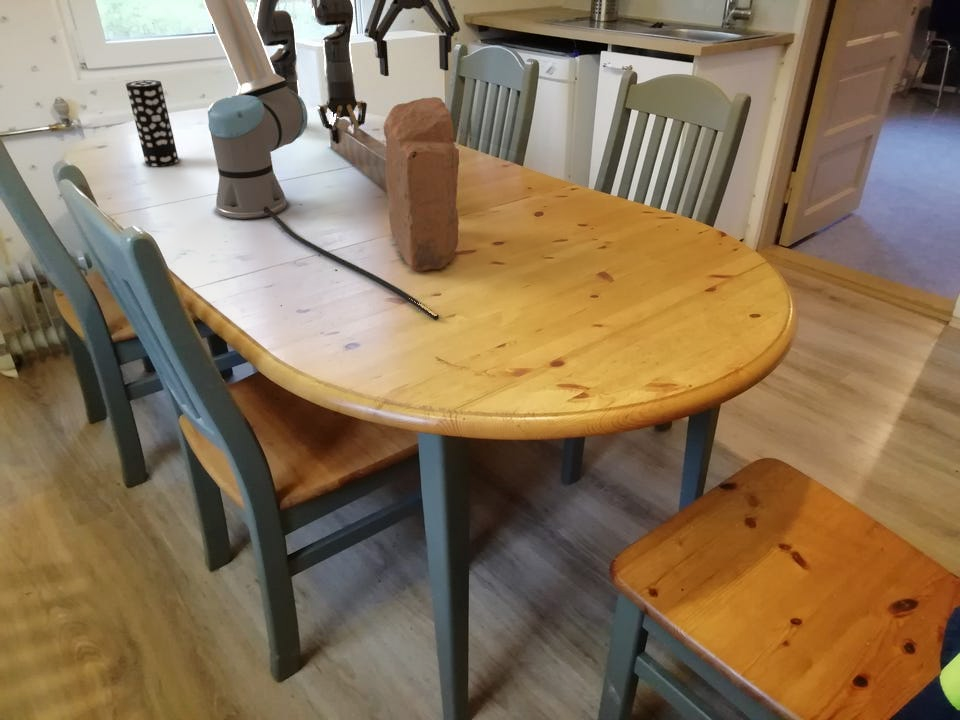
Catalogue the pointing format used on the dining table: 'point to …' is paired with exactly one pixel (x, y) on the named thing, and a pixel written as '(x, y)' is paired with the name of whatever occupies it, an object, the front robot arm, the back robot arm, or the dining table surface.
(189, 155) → the dining table surface
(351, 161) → the beam
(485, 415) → the dining table surface
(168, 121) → the black white spotted cylinder
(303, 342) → the dining table surface
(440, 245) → the stone
